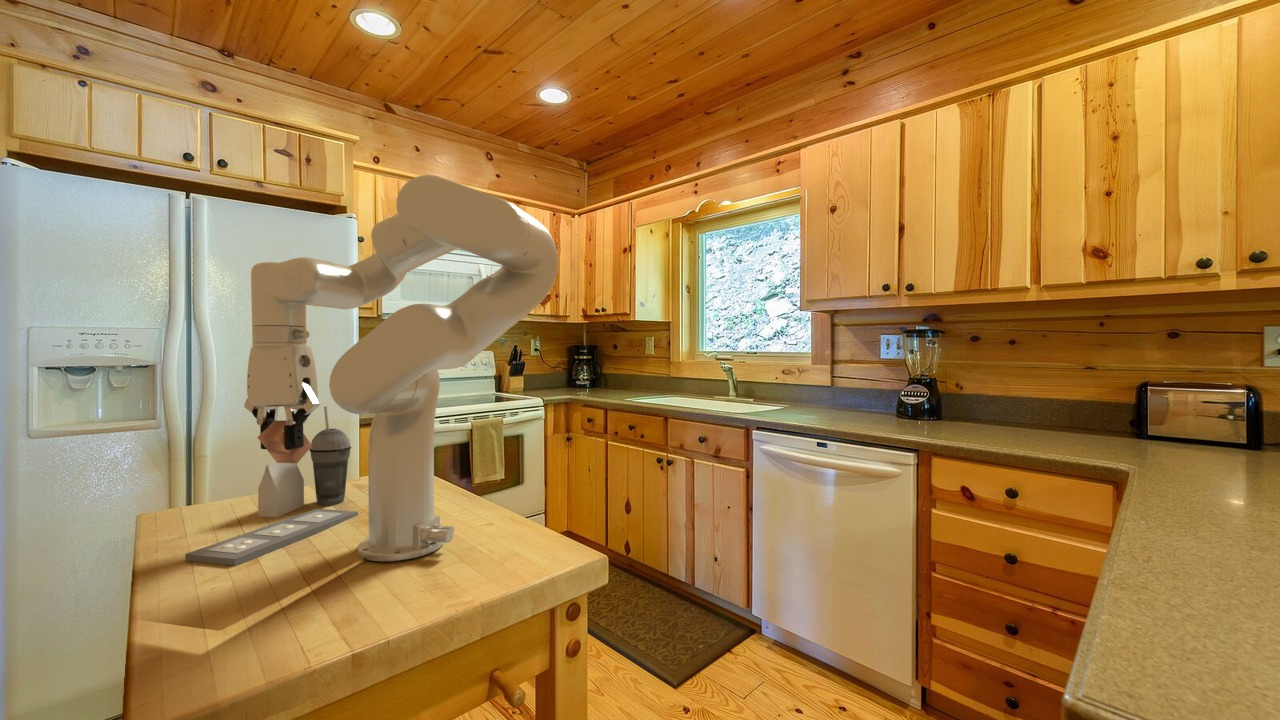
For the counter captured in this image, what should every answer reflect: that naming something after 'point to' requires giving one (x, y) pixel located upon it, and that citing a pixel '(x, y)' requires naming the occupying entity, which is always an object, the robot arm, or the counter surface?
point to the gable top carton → (280, 490)
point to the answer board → (269, 537)
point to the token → (281, 444)
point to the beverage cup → (330, 464)
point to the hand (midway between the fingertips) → (282, 447)
